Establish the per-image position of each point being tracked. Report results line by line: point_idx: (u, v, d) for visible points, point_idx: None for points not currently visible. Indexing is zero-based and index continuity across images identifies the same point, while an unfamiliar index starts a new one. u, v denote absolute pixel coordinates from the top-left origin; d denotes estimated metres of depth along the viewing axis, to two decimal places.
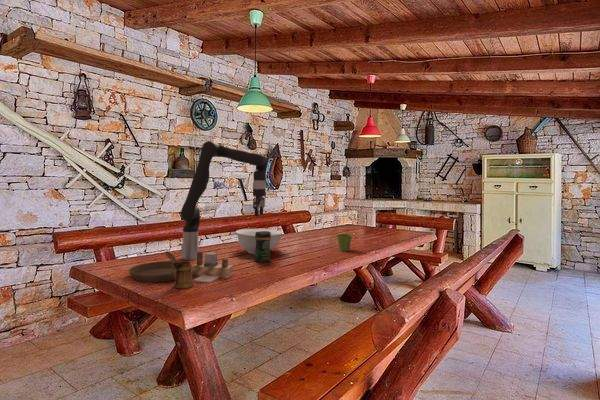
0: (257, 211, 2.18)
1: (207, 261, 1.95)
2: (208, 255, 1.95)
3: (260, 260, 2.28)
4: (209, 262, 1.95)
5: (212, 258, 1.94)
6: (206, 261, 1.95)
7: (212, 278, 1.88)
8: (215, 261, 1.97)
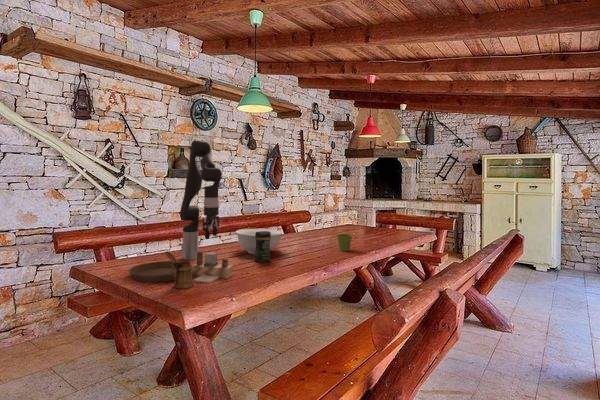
0: (208, 233, 1.91)
1: (207, 261, 1.95)
2: (208, 255, 1.95)
3: (260, 260, 2.28)
4: (209, 262, 1.95)
5: (212, 258, 1.94)
6: (206, 261, 1.95)
7: (212, 278, 1.88)
8: (215, 261, 1.97)
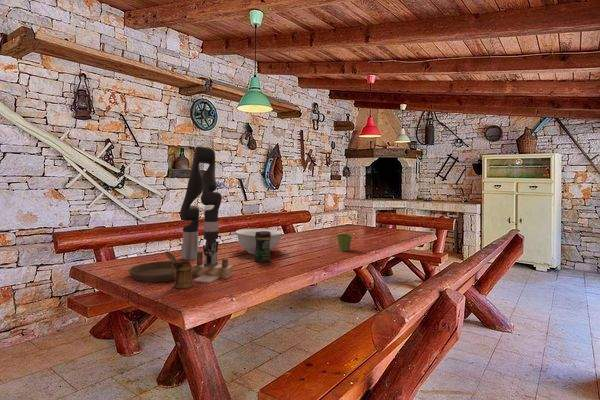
0: (209, 258, 1.94)
1: None
2: None
3: (260, 260, 2.28)
4: None
5: (212, 258, 1.94)
6: (206, 261, 1.95)
7: (212, 278, 1.88)
8: (215, 261, 1.97)
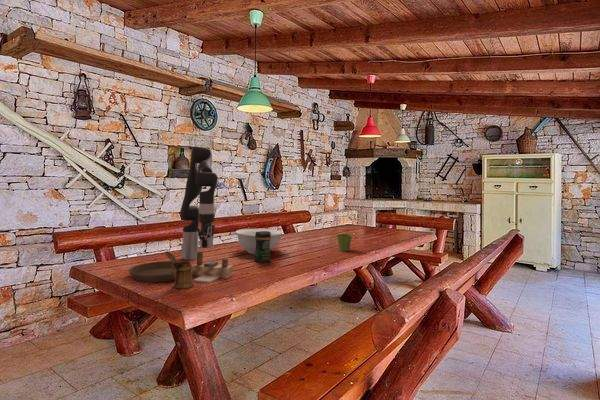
0: (205, 242, 1.84)
1: None
2: None
3: (260, 260, 2.28)
4: None
5: (208, 242, 1.85)
6: (201, 245, 1.85)
7: (212, 278, 1.88)
8: (211, 245, 1.87)
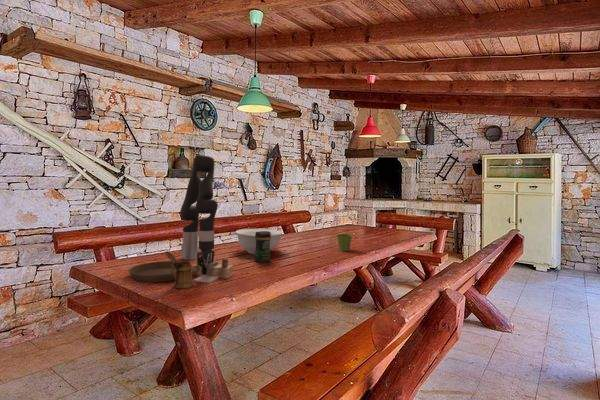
0: (205, 269, 1.85)
1: None
2: None
3: (260, 260, 2.28)
4: None
5: (207, 269, 1.85)
6: (201, 272, 1.86)
7: (212, 278, 1.88)
8: (211, 272, 1.88)
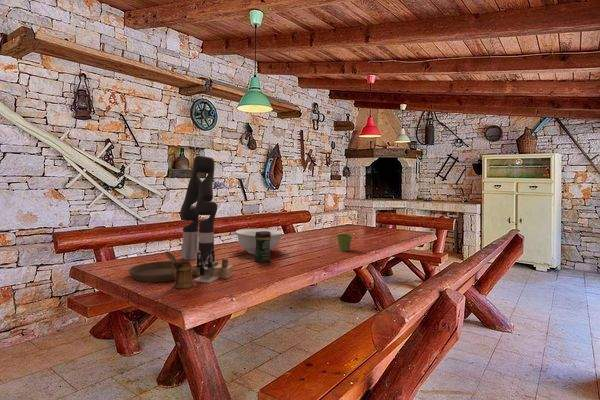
0: (202, 270, 1.83)
1: (202, 276, 1.86)
2: None
3: (260, 260, 2.28)
4: (204, 277, 1.86)
5: (207, 273, 1.86)
6: (201, 276, 1.86)
7: (212, 278, 1.88)
8: (211, 276, 1.88)
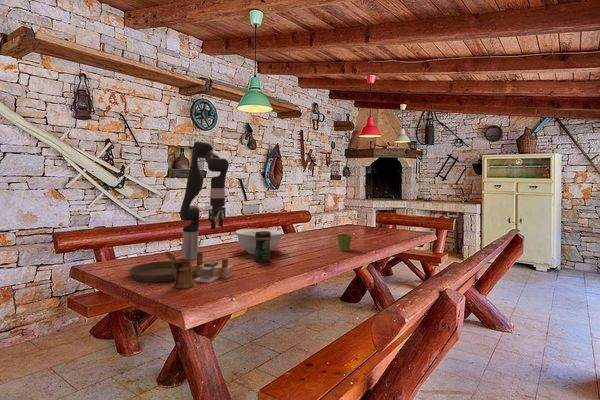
0: (214, 224, 1.89)
1: (202, 276, 1.86)
2: (203, 270, 1.86)
3: (260, 260, 2.28)
4: (204, 277, 1.86)
5: (207, 273, 1.86)
6: (201, 276, 1.86)
7: (212, 278, 1.88)
8: (211, 276, 1.88)
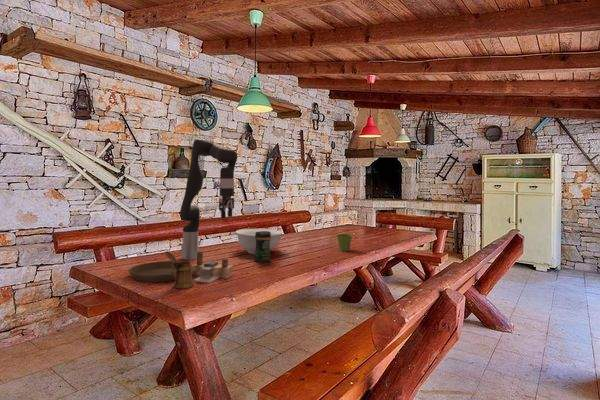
0: (224, 213, 1.95)
1: (202, 276, 1.86)
2: (203, 270, 1.86)
3: (260, 260, 2.28)
4: (204, 277, 1.86)
5: (207, 273, 1.86)
6: (201, 276, 1.86)
7: (212, 278, 1.88)
8: (211, 276, 1.88)
